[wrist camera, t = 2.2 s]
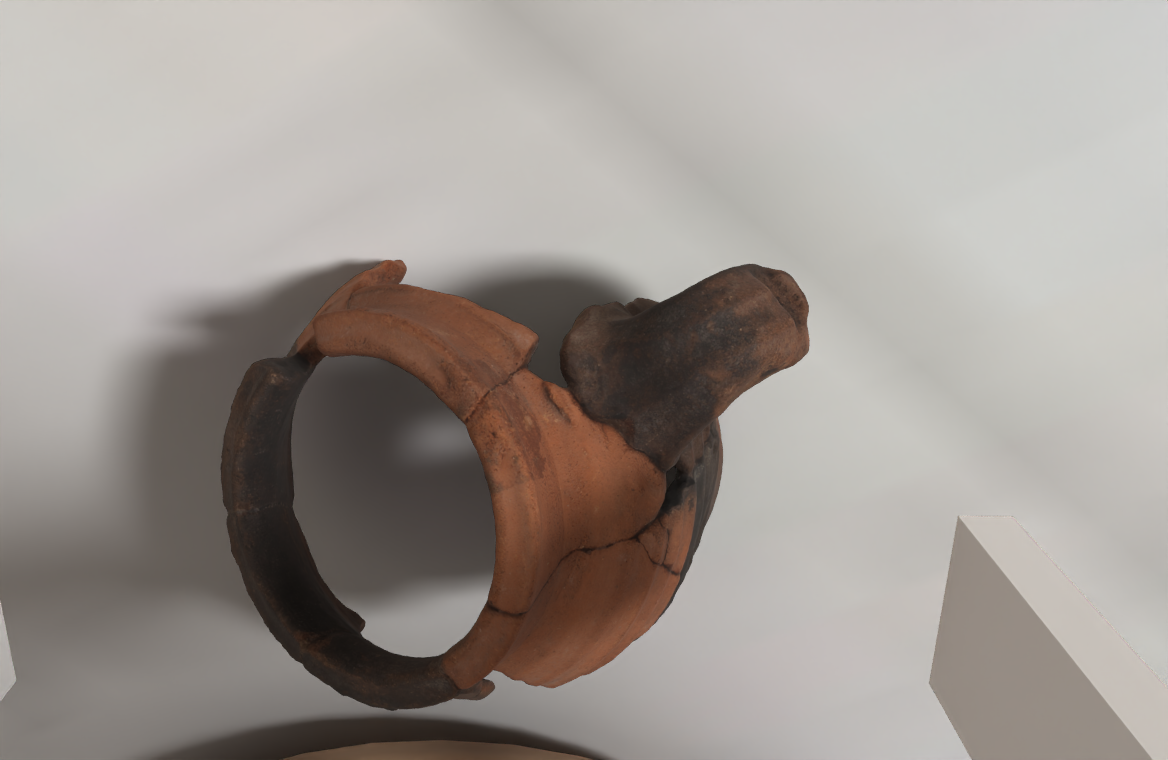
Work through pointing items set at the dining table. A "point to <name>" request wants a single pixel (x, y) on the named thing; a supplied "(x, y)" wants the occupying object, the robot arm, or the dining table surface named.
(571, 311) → the dining table surface
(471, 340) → the pottery mug
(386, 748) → the disc
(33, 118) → the dining table surface
